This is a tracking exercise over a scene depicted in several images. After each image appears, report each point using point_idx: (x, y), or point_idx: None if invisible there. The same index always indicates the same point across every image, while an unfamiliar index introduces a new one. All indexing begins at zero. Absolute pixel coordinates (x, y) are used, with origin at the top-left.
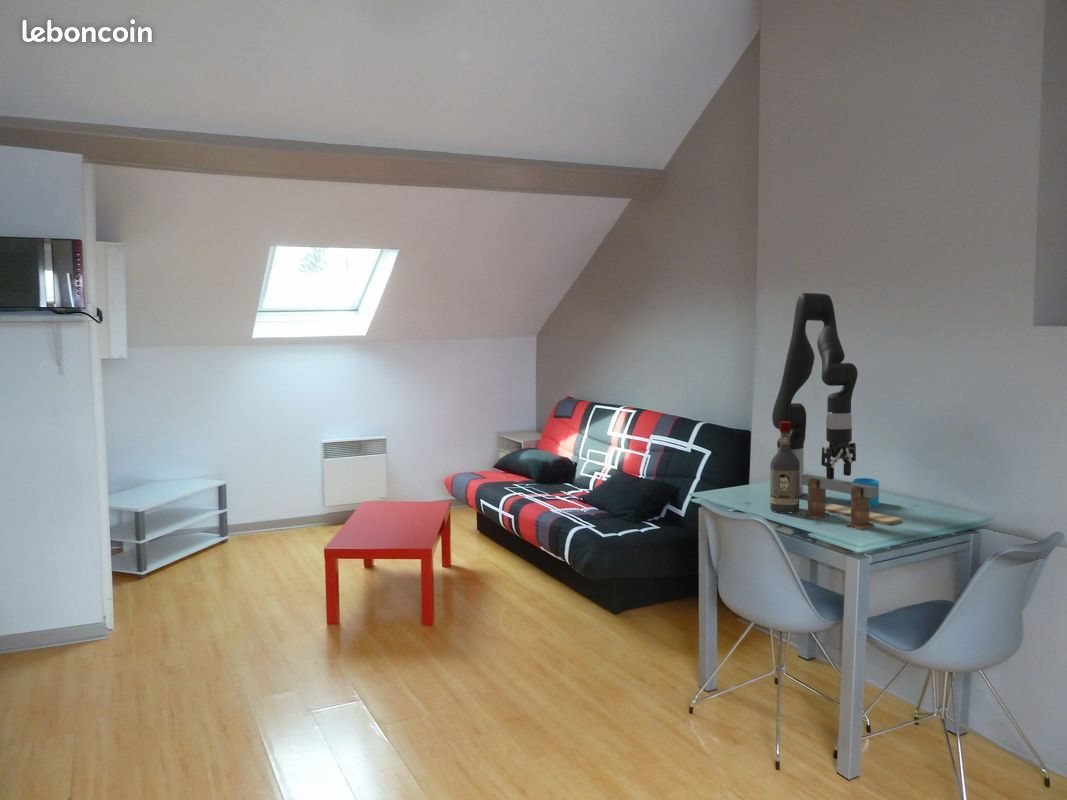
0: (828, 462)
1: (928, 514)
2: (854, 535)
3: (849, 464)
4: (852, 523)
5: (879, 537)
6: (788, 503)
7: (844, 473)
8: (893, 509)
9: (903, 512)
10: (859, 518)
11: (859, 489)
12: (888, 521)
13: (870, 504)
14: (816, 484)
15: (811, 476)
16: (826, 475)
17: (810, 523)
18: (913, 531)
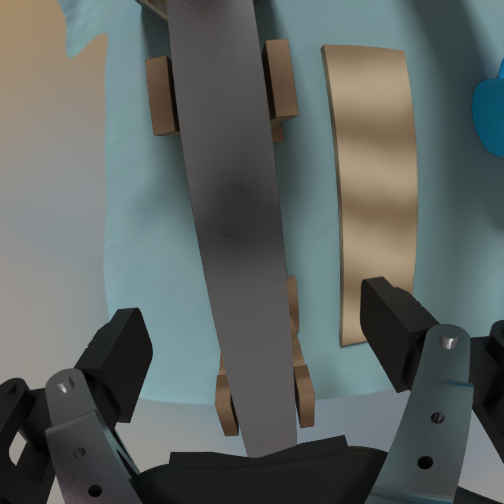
0: (35, 461)
1: (494, 301)
2: (163, 359)
3: (402, 388)
4: None
5: (210, 397)
6: (160, 13)
7: (365, 291)
8: (496, 216)
9: (485, 255)
10: None
11: (225, 433)
12: (349, 339)
13: (490, 148)
14: (171, 134)
15: (200, 35)
16: (97, 333)
17: (131, 187)
18: (331, 397)
